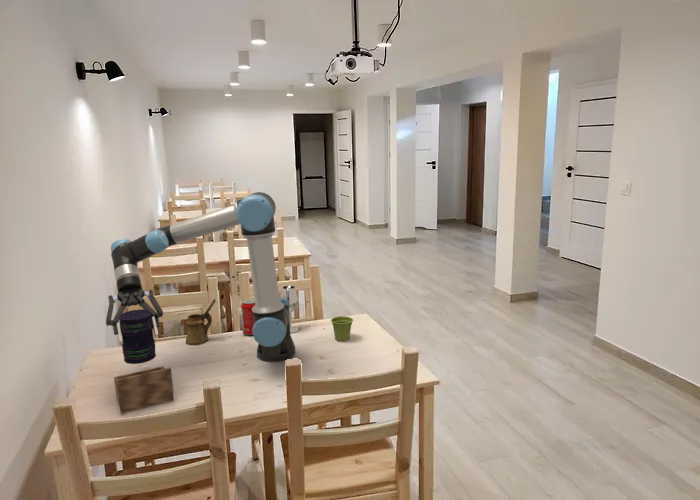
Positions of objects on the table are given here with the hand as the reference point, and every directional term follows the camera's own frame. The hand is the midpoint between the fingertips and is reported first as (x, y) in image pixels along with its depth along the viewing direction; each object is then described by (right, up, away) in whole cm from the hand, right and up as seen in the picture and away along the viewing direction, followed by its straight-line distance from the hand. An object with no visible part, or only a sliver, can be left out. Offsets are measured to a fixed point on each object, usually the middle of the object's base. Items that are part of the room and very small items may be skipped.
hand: (139, 339), depth 158 cm
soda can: (+24, -8, +61) cm, 66 cm away
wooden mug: (+4, -10, +54) cm, 55 cm away
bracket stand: (-1, -20, +7) cm, 21 cm away
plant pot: (+64, -10, +53) cm, 84 cm away
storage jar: (-1, -7, +4) cm, 8 cm away
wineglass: (+41, -8, +64) cm, 76 cm away
